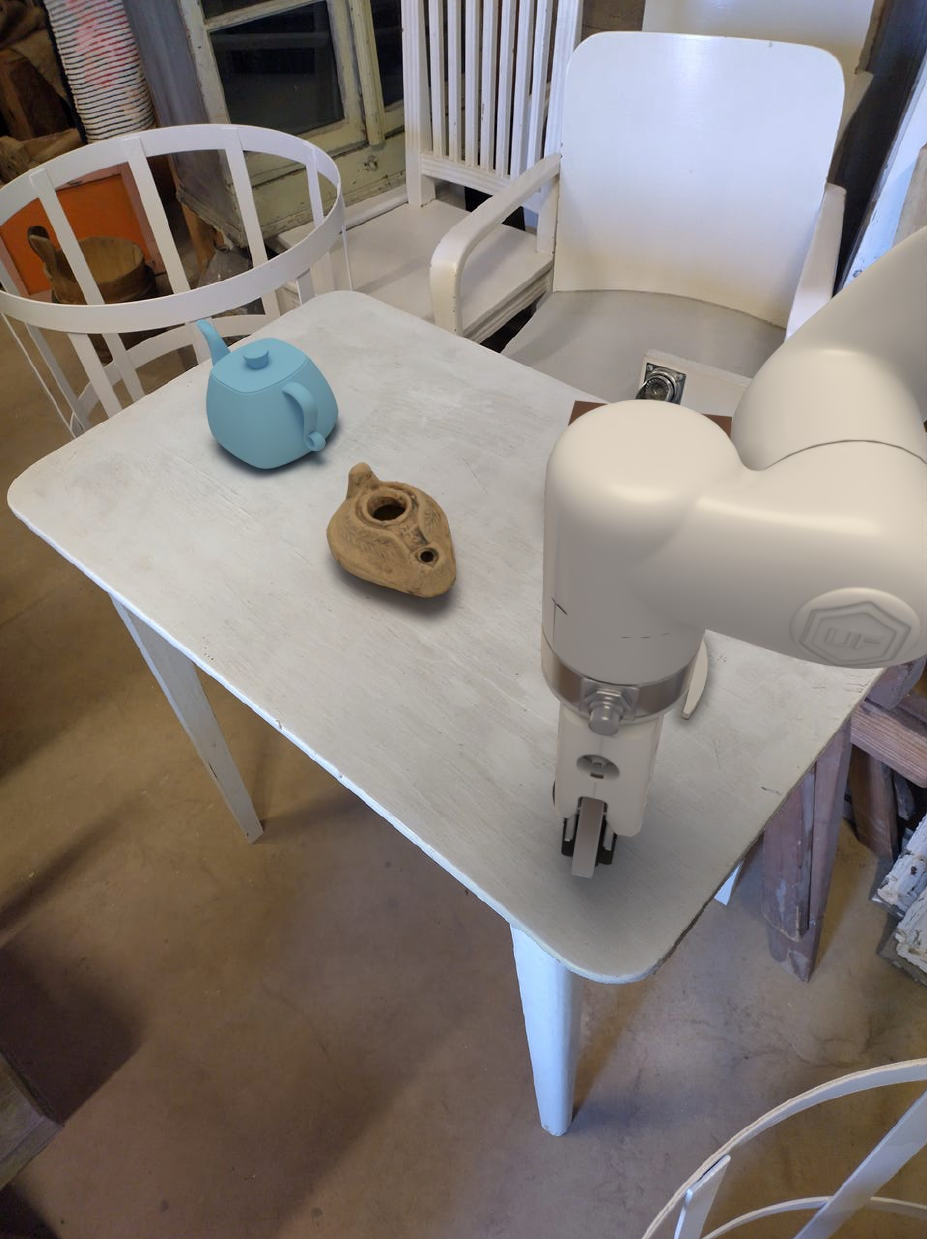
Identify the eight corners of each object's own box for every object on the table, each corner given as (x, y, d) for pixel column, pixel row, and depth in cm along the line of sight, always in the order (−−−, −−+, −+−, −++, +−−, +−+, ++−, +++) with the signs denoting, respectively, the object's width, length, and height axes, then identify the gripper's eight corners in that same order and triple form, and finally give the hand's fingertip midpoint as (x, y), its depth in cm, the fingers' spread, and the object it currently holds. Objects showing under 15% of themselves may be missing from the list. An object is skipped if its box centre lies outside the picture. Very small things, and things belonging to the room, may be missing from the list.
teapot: (243, 290, 88) (354, 348, 79) (267, 376, 96) (371, 436, 88) (144, 342, 82) (252, 410, 74) (179, 428, 91) (280, 498, 82)
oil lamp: (416, 641, 70) (405, 578, 63) (307, 557, 77) (288, 493, 71) (503, 570, 74) (501, 505, 68) (393, 497, 81) (382, 432, 75)
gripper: (680, 820, 34) (635, 956, 48) (709, 532, 44) (665, 713, 58) (504, 784, 35) (510, 926, 49) (572, 514, 46) (561, 694, 60)
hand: (594, 809), depth 54 cm, fingers closed on light bulb, 5 cm apart
